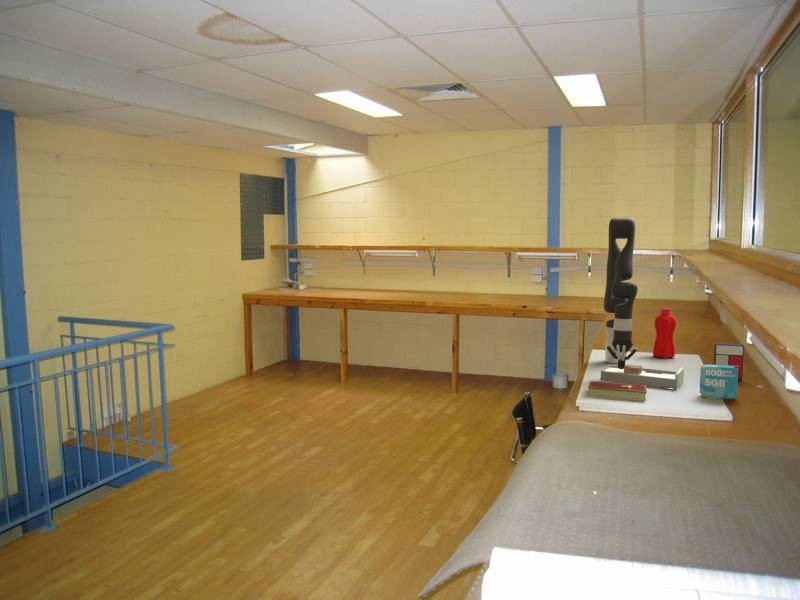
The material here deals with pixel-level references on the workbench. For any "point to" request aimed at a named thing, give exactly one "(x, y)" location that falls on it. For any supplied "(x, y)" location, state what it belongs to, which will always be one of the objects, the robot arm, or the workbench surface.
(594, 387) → the hardcover book
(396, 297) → the workbench surface
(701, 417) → the workbench surface
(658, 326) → the water bottle
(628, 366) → the walnut block
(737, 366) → the grey white red block
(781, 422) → the workbench surface
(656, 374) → the box
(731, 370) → the data package
